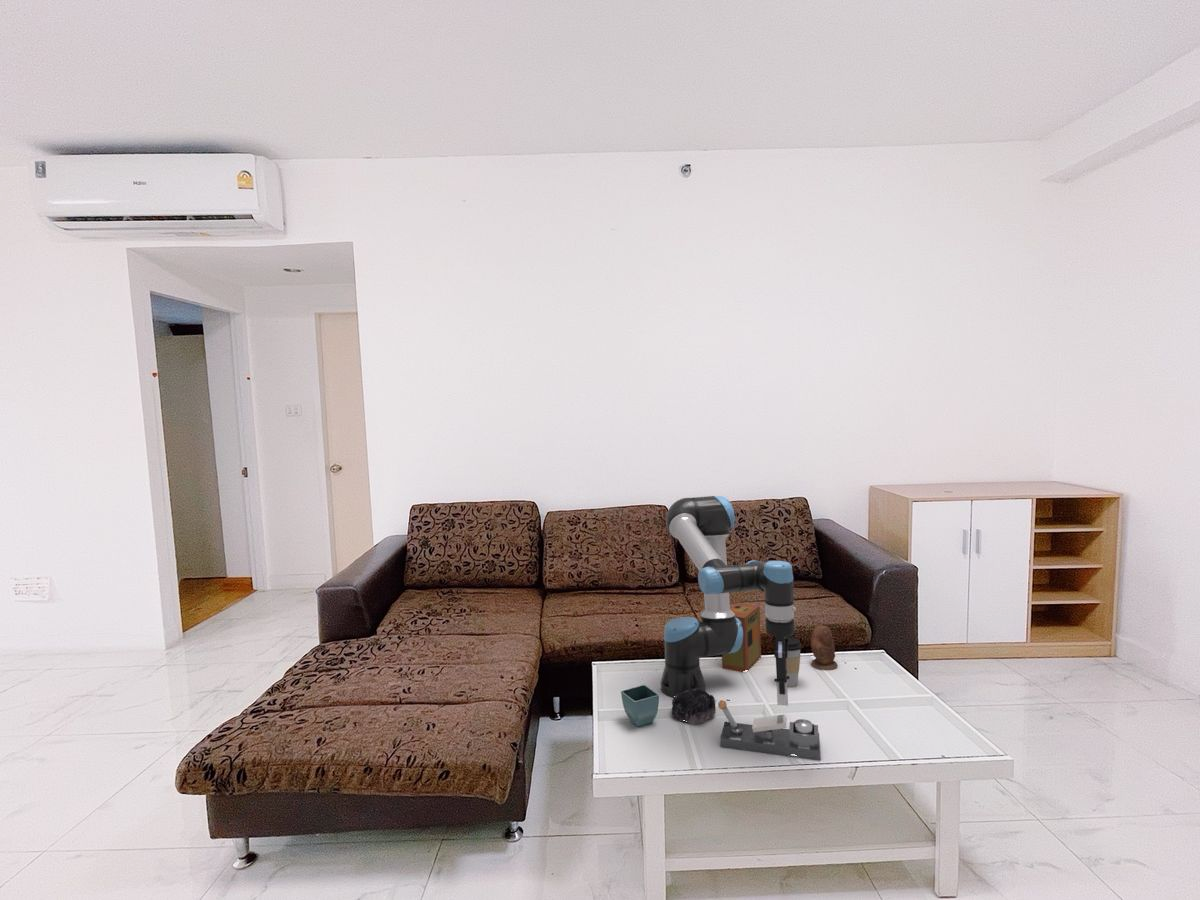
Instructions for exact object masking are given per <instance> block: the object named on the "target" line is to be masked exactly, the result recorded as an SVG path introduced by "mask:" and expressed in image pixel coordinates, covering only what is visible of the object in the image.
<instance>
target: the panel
mask: <svg viewBox="0 0 1200 900" xmlns="http://www.w3.org/2000/svg"><path fill="white" fill-rule="evenodd" d="M723 722H724V723H723V727H722V731H721V733H720V736H719V737H720V738H719V741H720V742H719V744H720V745H719V746H720V748H726V749H734V750H742V751H747V752H748V751H749V752H756V753H764V754H770V755H771V754H772V755H779V756H786V757H788V756H787V755H791V754H795V755H797V756H799V757H798V758H800V757H801V758H802V759H809V760H814V761H815V760H816V761H821V744H820V743H821V742H820V740H821V739H820V732H819V726H818V724H814V723H812V735H809V734H801V733H795V721H790V722H789V728H782V729H775V730H767V731H760V732H753V729H752V726H753V724H748V723H741V722H739V723H738V722H736V724H737V726H736V727H734V728H732V726H731V724H730V722H729V721H723Z"/></svg>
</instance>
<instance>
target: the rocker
mask: <svg viewBox="0 0 1200 900" xmlns="http://www.w3.org/2000/svg"><path fill="white" fill-rule="evenodd" d="M787 720H788V719H787V715H786V713H784V714H777V715H770V716H764V717H763V716H761V717H756V718H755V717H754V718H753V720H752V721H753V722H752V725H753V726H752V729H753V732H760V731H767V730H775V729H782V728H783V729H787Z"/></svg>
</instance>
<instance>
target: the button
mask: <svg viewBox="0 0 1200 900" xmlns="http://www.w3.org/2000/svg"><path fill="white" fill-rule="evenodd" d="M794 722H795V733H801V734H809V735H812V724H813V723H812V721H810V720H808V719H803V718H800V719H796V720H794Z"/></svg>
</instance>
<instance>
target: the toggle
mask: <svg viewBox="0 0 1200 900" xmlns="http://www.w3.org/2000/svg"><path fill="white" fill-rule="evenodd" d="M717 706H718V708H719V709H720V710H722V712H723V714H724V715H725V716H724V717H726V719H727V722H730V724H731V726H732V728H734V727H736V726H737V724H736V723H737V722H736V720H735V718H734V717H733V715H732V714H731V712H730V709H728V705H727V702H726V701H725V700H723V699H722V700H719V701H718V704H717Z"/></svg>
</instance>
